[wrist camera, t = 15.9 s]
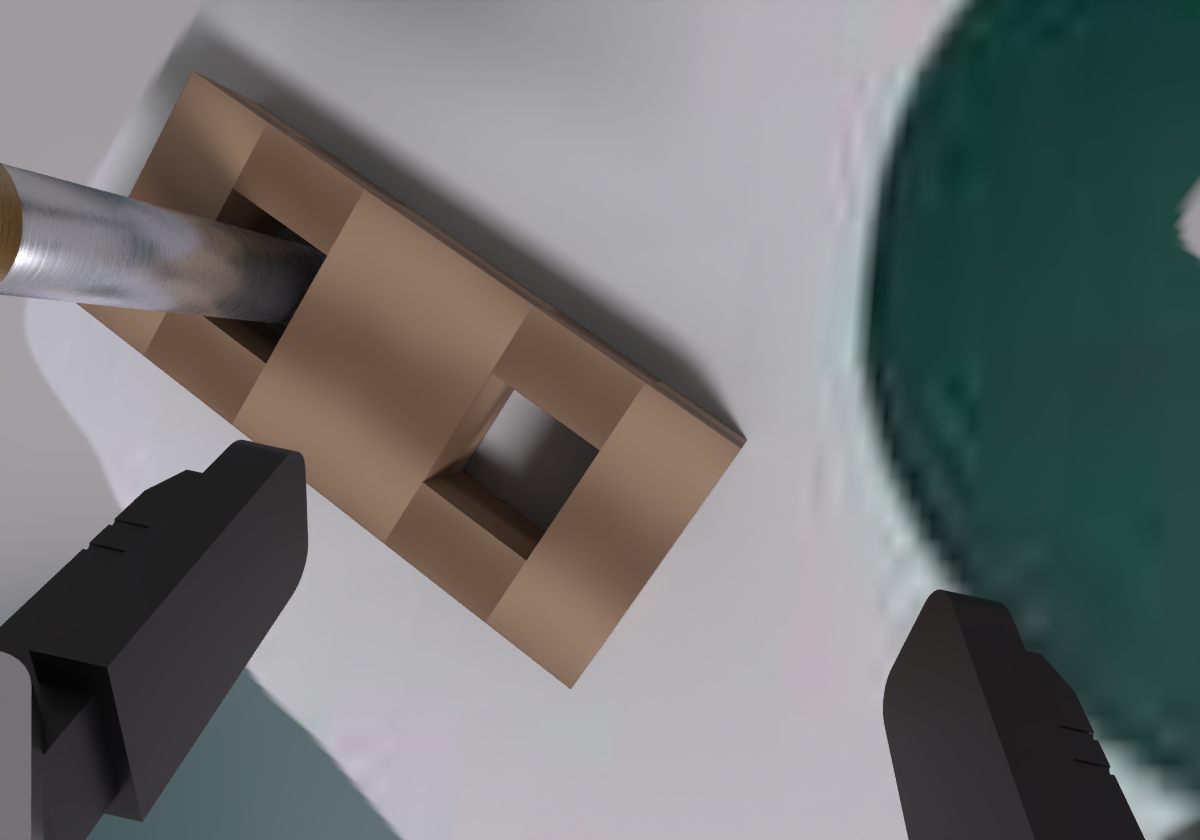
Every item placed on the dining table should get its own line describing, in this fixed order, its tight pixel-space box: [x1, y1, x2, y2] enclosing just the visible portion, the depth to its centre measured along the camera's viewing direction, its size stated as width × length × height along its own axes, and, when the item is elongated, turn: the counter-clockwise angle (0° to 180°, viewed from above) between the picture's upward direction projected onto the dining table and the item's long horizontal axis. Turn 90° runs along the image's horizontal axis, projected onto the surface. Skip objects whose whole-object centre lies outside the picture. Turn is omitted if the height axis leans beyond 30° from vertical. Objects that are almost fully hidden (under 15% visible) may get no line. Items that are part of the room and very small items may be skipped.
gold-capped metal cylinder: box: [0, 163, 327, 325], centre depth 25 cm, size 4×4×16 cm
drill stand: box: [77, 71, 747, 689], centre depth 30 cm, size 10×24×4 cm, turn 56°
